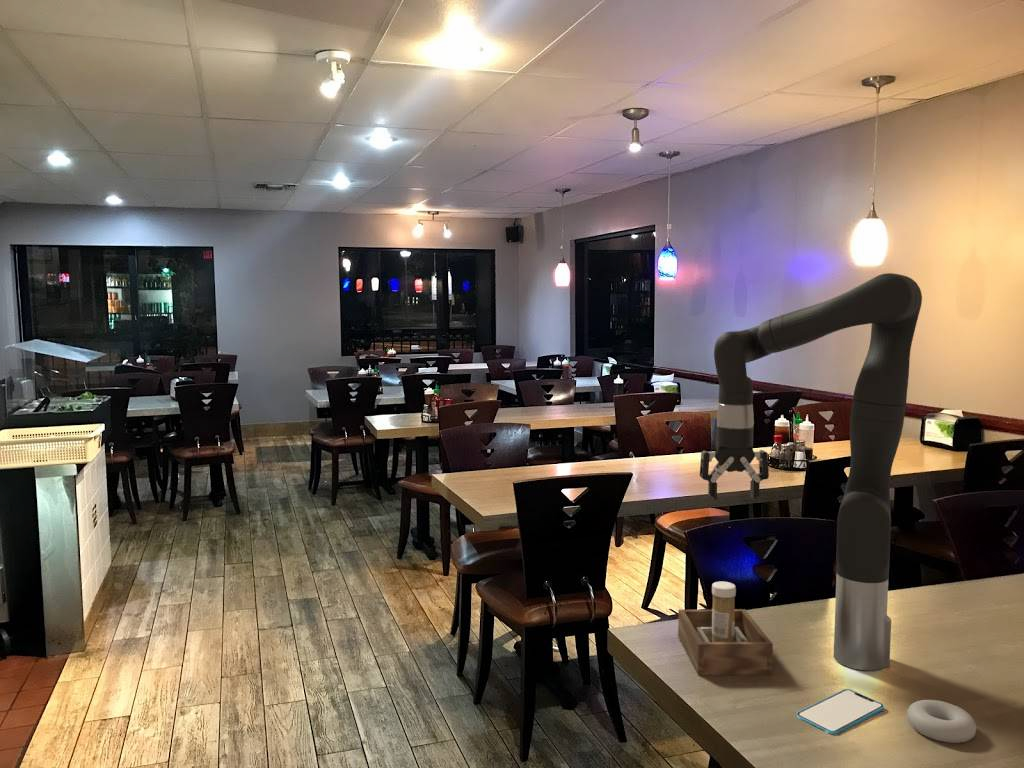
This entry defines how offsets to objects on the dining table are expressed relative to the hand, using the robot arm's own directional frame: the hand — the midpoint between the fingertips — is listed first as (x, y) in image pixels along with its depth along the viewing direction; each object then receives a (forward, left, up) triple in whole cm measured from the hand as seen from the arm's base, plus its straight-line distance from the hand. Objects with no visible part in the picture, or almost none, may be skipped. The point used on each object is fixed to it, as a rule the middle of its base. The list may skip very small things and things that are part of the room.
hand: (733, 498), depth 166 cm
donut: (-22, +43, -29) cm, 56 cm away
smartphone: (-8, +38, -29) cm, 48 cm away
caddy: (+6, +15, -28) cm, 32 cm away
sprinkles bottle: (+6, +15, -27) cm, 32 cm away
